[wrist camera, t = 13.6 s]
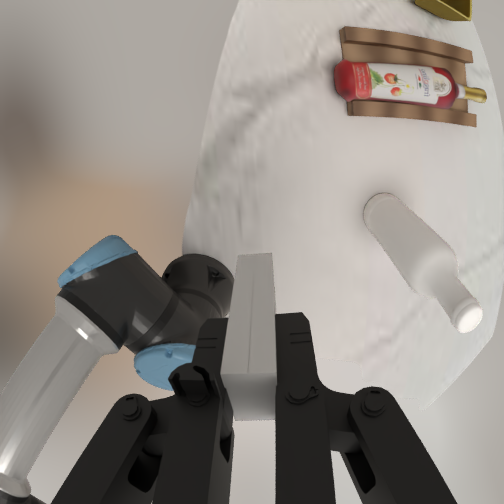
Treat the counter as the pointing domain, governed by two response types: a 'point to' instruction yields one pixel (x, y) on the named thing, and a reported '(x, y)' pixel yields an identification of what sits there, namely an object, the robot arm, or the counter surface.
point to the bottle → (422, 258)
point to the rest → (406, 52)
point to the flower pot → (448, 8)
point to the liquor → (401, 84)
